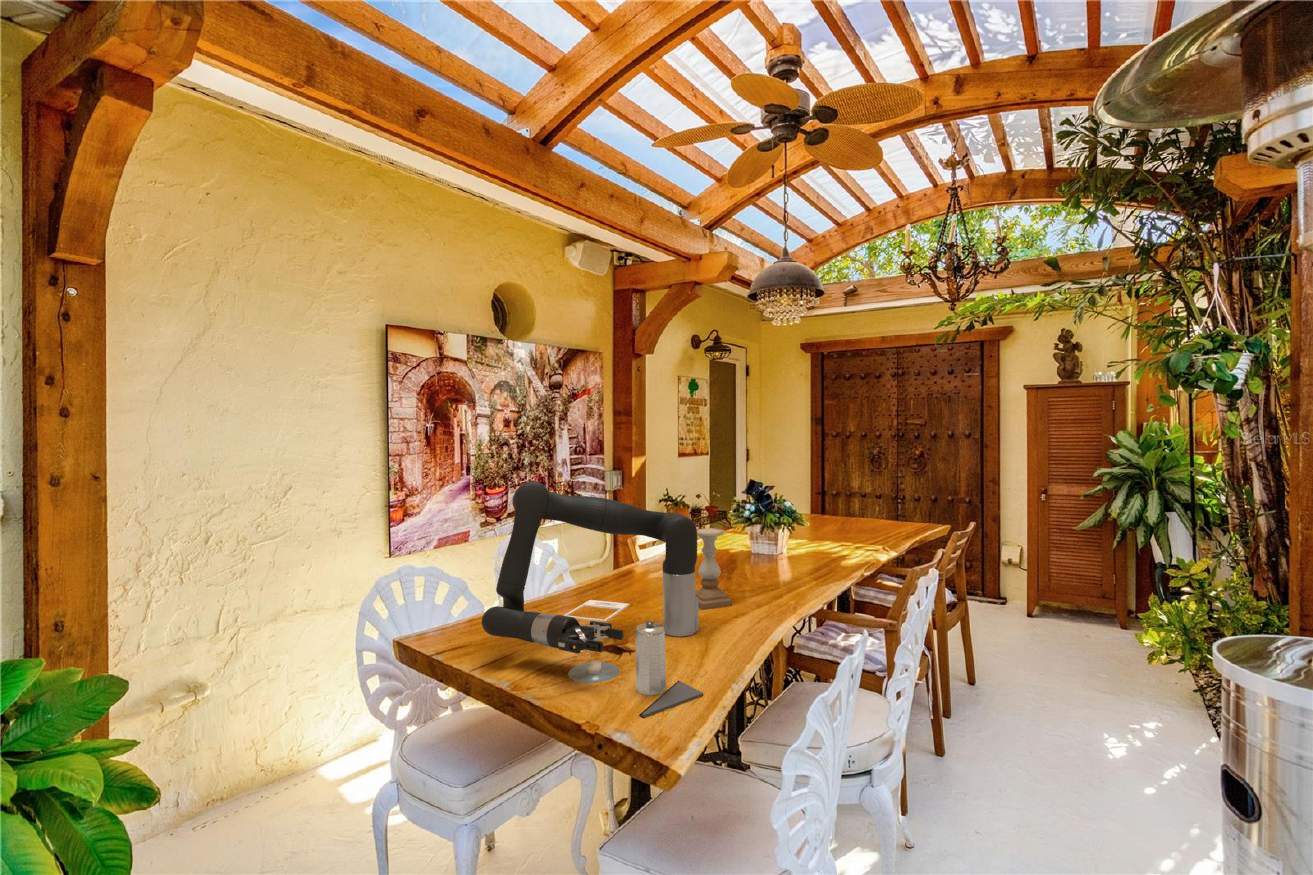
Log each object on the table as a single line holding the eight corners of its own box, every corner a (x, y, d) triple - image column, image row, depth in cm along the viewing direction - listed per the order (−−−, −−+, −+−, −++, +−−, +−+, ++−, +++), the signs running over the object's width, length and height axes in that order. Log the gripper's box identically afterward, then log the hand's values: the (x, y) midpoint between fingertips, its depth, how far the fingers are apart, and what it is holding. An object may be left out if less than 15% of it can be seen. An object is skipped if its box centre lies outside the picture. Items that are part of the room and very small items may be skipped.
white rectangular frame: (629, 603, 200) (605, 620, 183) (629, 606, 200) (605, 623, 183) (589, 599, 205) (562, 615, 188) (590, 602, 205) (562, 618, 188)
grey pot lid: (602, 662, 152) (602, 650, 152) (629, 677, 142) (629, 664, 142) (559, 674, 145) (559, 662, 145) (584, 692, 135) (584, 678, 135)
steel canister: (645, 682, 138) (644, 617, 137) (669, 687, 135) (668, 620, 135) (632, 693, 132) (631, 625, 132) (656, 698, 130) (655, 628, 129)
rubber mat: (658, 672, 145) (658, 670, 145) (703, 695, 132) (703, 693, 132) (601, 691, 135) (601, 688, 135) (643, 718, 122) (643, 715, 122)
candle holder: (688, 600, 203) (686, 529, 203) (717, 596, 207) (716, 526, 207) (702, 609, 193) (700, 534, 193) (732, 605, 197) (731, 532, 197)
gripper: (535, 624, 139) (595, 634, 132) (572, 607, 152) (628, 615, 144) (536, 656, 139) (595, 668, 132) (573, 637, 152) (629, 647, 144)
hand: (612, 641), depth 138 cm, fingers open, 8 cm apart
